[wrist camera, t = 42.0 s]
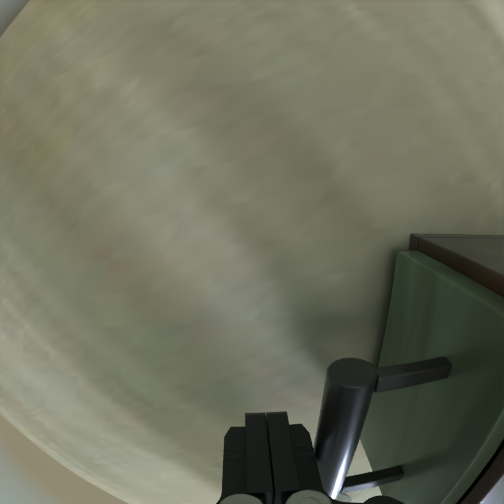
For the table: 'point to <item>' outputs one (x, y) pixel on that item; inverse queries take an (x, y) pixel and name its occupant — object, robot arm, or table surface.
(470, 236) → the cabinet
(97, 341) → the table surface
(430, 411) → the drawer
